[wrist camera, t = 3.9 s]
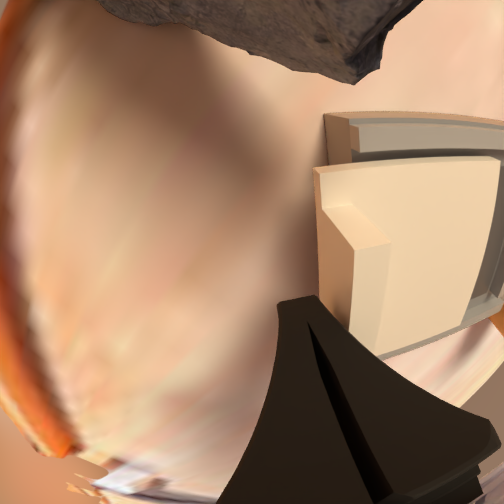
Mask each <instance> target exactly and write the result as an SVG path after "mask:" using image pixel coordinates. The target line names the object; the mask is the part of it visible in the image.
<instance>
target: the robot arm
mask: <svg viewBox="0 0 504 504" xmlns="http://www.w3.org/2000/svg"><path fill="white" fill-rule="evenodd" d="M277 310H278V318H279V330H278V341H277V350H276V357H275V362H274V367H273V372H272V377H271V381H270V385H269V389H268V392H267V396H266V399H265V402H264V405H263V408H262V411H261V414H260V417H259V419H258V422H257V425H256V427H255V430H254V432H253V435H252V437H251V440H250V442H249V444H248V446H247V448H246V450H245V452H244V454H243V456H242V458H241V460H240V463H239V465H238V467H237V468H236V470H235V472H234V474H233V476H232V477H231V479H230V481H229V482H228V484H227V486H226V487H225V489H224V491H223V492H222V494H221V495H220V497H219V499H218V500H217V502H216V504H472V503H474V502H475V504H504V462H502V463H501V464H500V465H499V466H497V467H496V468H495V469H493V470H492V471H491V472H489V473H488V474H487V475H485V476H484V477H482V478H481V479H479V480H478V478H477V475H479V474H480V472H481V471H480V469H479V466H478V464H479V463H480V462H482V461H483V460H485V459H486V458H487V457H489V456H490V455H492V454H493V453H494V452H495V451H497V450H498V449H499V448H500V447H501V442H500V440H499V437H498V435H497V433H496V431H495V429H494V427H493V425H492V424H491V422H490V421H489V420H488V419H486V418H483V417H480V416H477V415H474V414H472V413H469V412H467V411H464V410H462V409H460V408H458V407H455V406H453V405H451V404H449V403H447V402H445V401H443V400H441V399H439V398H437V397H436V396H434V395H432V394H430V393H429V392H427V391H425V390H423V389H422V388H420V387H418V386H417V385H415V384H413V383H412V382H410V381H409V380H407V379H406V378H404V377H403V376H401V375H400V374H398V373H397V372H396V371H394V370H393V369H392V368H390V367H389V366H388V365H386V364H385V363H384V362H382V361H381V360H380V359H379V358H377V357H376V356H375V355H374V354H373V353H372V352H370V351H369V350H368V349H367V348H366V347H365V346H364V345H362V344H361V343H360V342H359V341H358V340H357V339H356V338H355V337H354V336H353V335H352V334H351V333H350V332H349V331H348V330H347V329H346V328H345V327H344V326H343V325H342V324H341V323H340V322H339V321H338V320H337V319H336V318H335V317H334V316H333V315H332V314H331V312H330V311H329V310H328V309H327V308H326V307H325V306H324V304H323V303H322V302H321V301H320V300H319V298H318V297H317V296H315V295H311V296H306V297H301V298H297V299H292V300H287V301H281V302H279V303H278V304H277Z"/></svg>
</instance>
